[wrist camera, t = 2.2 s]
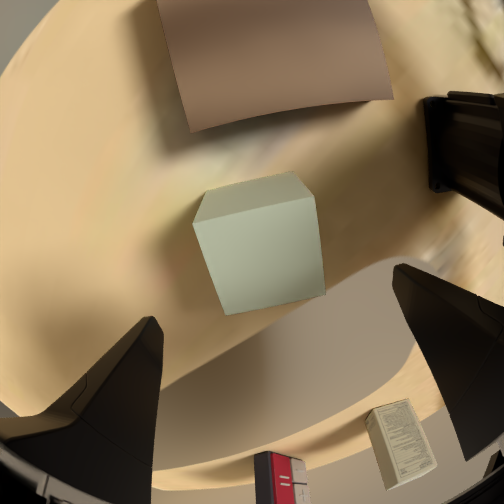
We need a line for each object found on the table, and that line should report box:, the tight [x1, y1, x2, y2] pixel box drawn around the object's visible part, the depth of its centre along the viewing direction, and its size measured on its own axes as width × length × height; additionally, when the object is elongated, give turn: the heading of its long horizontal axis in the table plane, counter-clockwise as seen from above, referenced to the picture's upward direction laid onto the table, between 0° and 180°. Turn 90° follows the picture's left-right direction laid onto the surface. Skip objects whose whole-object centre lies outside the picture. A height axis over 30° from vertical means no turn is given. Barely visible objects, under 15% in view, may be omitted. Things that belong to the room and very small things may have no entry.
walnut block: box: [156, 0, 394, 133], centre depth 10 cm, size 10×10×3 cm
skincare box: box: [365, 399, 437, 491], centre depth 25 cm, size 6×4×12 cm
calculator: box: [254, 451, 311, 504], centre depth 30 cm, size 11×4×15 cm, turn 39°
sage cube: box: [192, 171, 326, 316], centre depth 14 cm, size 5×5×5 cm
